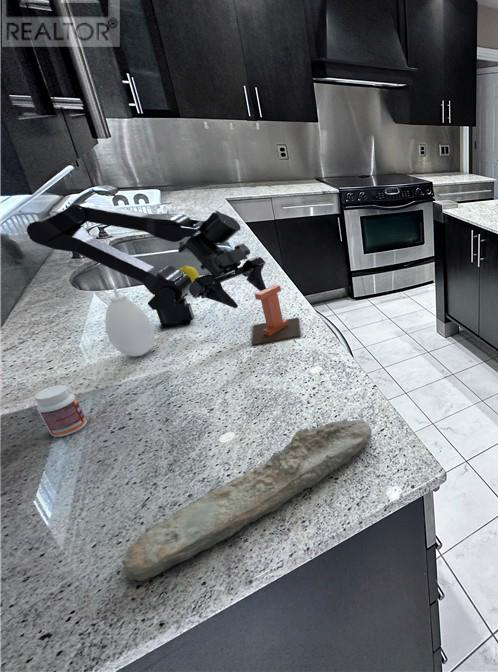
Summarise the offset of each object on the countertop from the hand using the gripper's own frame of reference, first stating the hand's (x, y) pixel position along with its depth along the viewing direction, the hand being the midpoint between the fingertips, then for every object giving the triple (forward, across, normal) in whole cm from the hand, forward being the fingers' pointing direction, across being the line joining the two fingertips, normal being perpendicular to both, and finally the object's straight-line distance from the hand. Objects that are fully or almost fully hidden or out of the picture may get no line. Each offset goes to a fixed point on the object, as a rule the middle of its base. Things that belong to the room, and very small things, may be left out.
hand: (252, 300), depth 107 cm
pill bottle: (+6, -41, +7) cm, 42 cm away
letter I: (+10, 0, +1) cm, 10 cm away
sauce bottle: (-4, -20, +17) cm, 26 cm away
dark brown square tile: (+10, 0, +2) cm, 10 cm away
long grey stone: (+38, -40, -26) cm, 60 cm away
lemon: (-22, +12, +34) cm, 43 cm away
